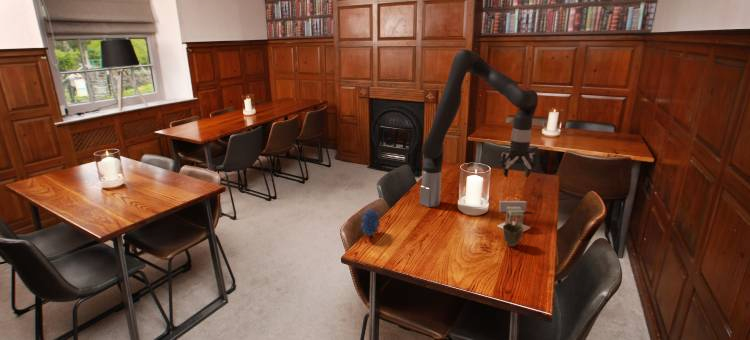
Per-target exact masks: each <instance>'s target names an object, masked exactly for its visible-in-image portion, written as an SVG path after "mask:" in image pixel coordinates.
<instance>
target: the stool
mask: <svg viewBox="0 0 750 340" xmlns="http://www.w3.org/2000/svg"><path fill="white" fill-rule="evenodd" d="M505 213H506V214H505V221H504V222H505V224H506V225H507V224H508V223H509V224H511V223H513V221H515V224H517V225H520V226H521V227H522V224H523V223H524V214H525V212H524V211H523V210H522V209H521V208H520V207H507V211H506V212H505ZM514 216H515V220H514ZM523 225H524V224H523Z"/></svg>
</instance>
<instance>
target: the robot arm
mask: <svg viewBox="0 0 750 340" xmlns="http://www.w3.org/2000/svg"><path fill="white" fill-rule="evenodd" d="M467 73H471V74H473V75H475V76H477V77H479V78H481V79H483V80H484V82H486V83H487V85H489V86H490V87H491V88H492V89H493V90H495V91H496V92H498V93H499V94H500V95H502V96H504V97H505V98H506V99H507V101H509V103H510V104H512V105H513V106H514V107H516V108H519V110H518V112H517V113H516V114H515V115H514V118H513V124H512V125H513V126H512V131H511V136H510V146H509V152H505V151H502V152H501V154H500V158H499V166H500V167H501V168H503V173H502V174H503V176H504V177H505V178H508V175H509V168H510V166H512V165H514V164H524V165H525V170H524V177H525V178H529V177H530V174H531V170H532V169H534V168H536V167H537V153H535V152H533V151H532V152H531V153H530V148H531V147H530V146H531V145H530V144H531V140H532V126H533V118H534V116H535V113H536V110H537V107H538V103H539V102H538V101H539V96H538V93H537V92H536V91H535V90H534V89H529V88H528V89H522V88H520V87H519V85H518V82H517V81H515V80H514V79H513V78H511V77H509V76H508V75H506V74H504V73H502V72H501V71H499V70H497V69H496V68H494V67H493V66H491V65H490V64H489V63H488V62H486V60H485V59H483V58H482V57H481V56H480V54H478V53H477V52H475V51H473V50H469V49H466V48H465V49H460V50H458V51H457V52H456V53H455V54H454V57H453V59H452V63H451V66H450V69H449V74H448V78H447V81H446V83H445V87H444V89H443V91H442V94H441V98H440V99H439V101H438V105H437V108H436V111H435V113H434V116H433V121H432V124H431V128H430V131H429V132H428V134H427V137H426V139H425V140H424V142H423V144H422V147H421V151H422V152H421V153H422V155H423V160H422V161H423V162H422V168H421V169H422V170H421V185H420V189H419V205H422V206H425V207H427V208H431V207H434V208H435V207H438V206H439V205H440V203H441V190H442V189H441V187H442V169H443V161H444V160H443V159H444V141H445V138H446V135H447V134H448V131H449V129H450V128H451V126H452V125H453V122H454V120H455V118H456V116H457V113H458V112H459V109H460V105H461V103H462V86H463V83H464V79H465V77H466V75H467ZM508 157H509V158H508ZM529 157H530V163H529V161H528V159H529ZM507 158H508V159H507ZM506 159H507V161H506Z"/></svg>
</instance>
